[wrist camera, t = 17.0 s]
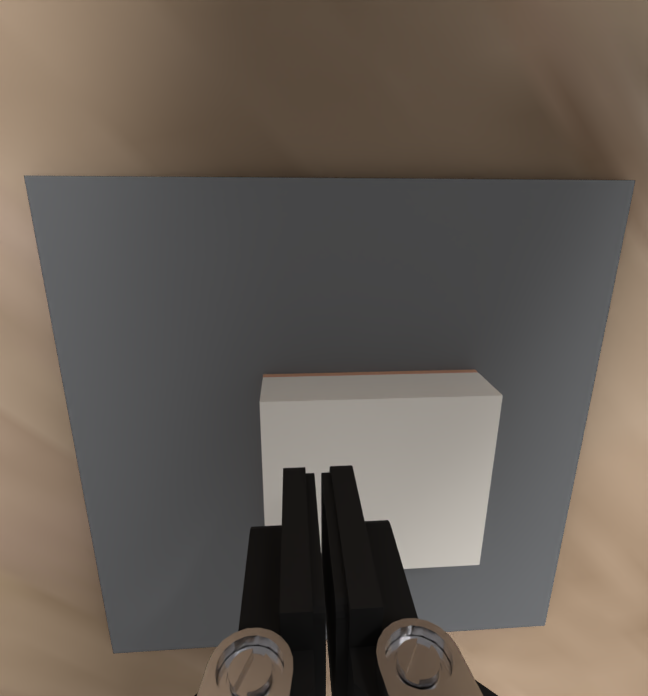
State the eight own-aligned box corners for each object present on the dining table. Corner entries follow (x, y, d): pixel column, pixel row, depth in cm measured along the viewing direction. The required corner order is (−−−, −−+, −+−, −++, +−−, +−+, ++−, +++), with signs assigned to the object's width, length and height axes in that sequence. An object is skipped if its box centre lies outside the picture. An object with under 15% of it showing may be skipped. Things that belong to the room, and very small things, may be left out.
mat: (30, 175, 15) (23, 175, 14) (627, 180, 16) (635, 180, 16) (116, 645, 21) (113, 653, 21) (540, 618, 22) (544, 625, 22)
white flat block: (259, 401, 15) (502, 395, 15) (263, 374, 17) (474, 369, 18) (266, 576, 17) (479, 564, 18) (269, 531, 19) (457, 522, 20)
